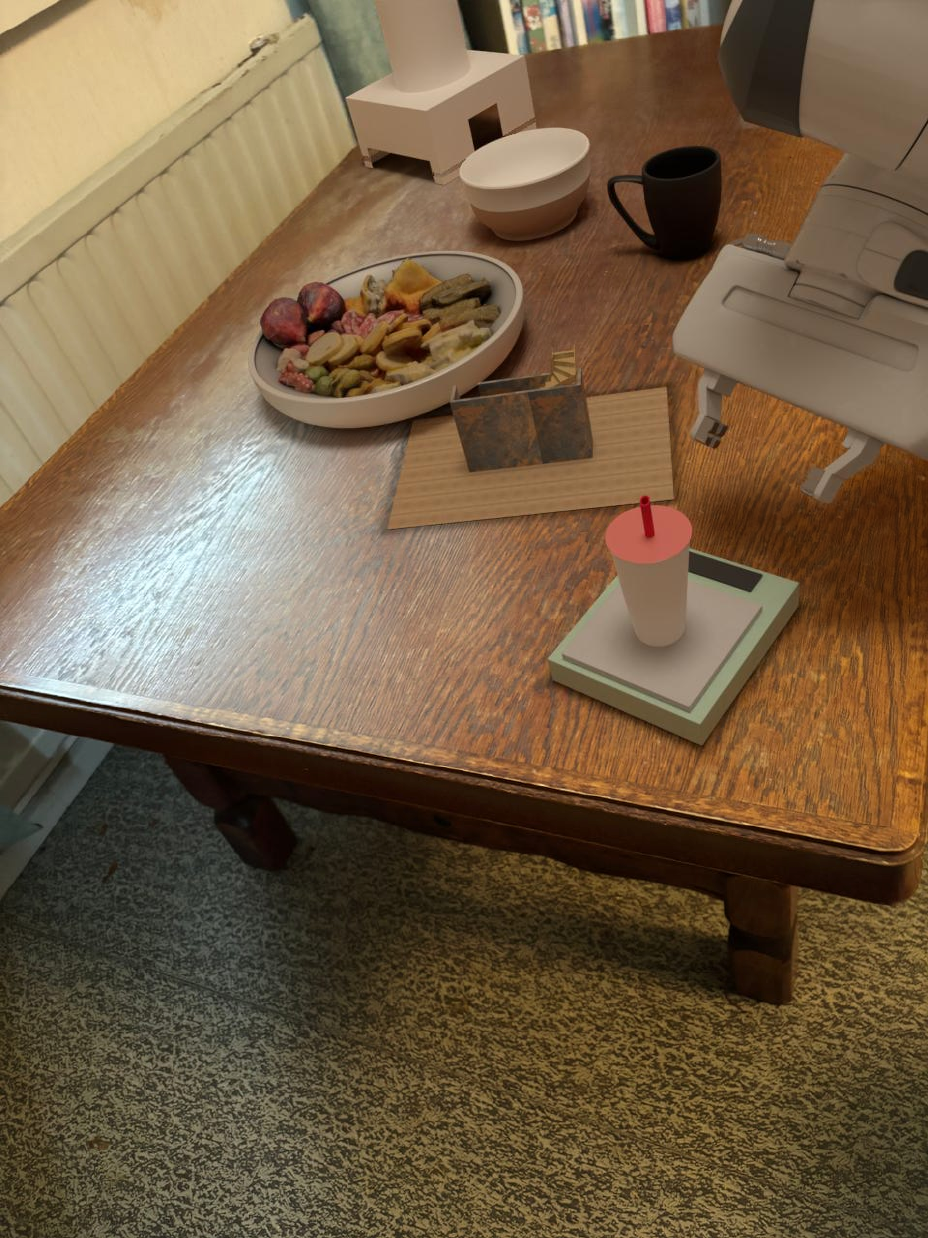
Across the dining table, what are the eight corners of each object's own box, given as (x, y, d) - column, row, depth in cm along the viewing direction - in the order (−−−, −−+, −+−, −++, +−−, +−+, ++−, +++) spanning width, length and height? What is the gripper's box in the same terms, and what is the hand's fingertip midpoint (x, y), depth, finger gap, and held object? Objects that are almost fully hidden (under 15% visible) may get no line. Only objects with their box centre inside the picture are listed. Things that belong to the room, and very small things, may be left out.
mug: (622, 236, 113) (612, 154, 107) (727, 226, 109) (724, 140, 103) (610, 271, 108) (599, 187, 102) (720, 263, 104) (716, 175, 97)
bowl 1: (557, 280, 109) (545, 212, 104) (491, 440, 90) (472, 367, 85) (323, 300, 120) (302, 239, 115) (220, 448, 101) (188, 383, 96)
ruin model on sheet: (666, 386, 91) (657, 292, 84) (673, 499, 80) (664, 400, 73) (413, 420, 97) (385, 334, 90) (387, 529, 86) (353, 441, 79)
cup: (675, 668, 64) (660, 534, 56) (606, 642, 67) (582, 511, 59) (713, 615, 66) (705, 479, 58) (645, 591, 69) (627, 459, 61)
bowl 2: (598, 180, 125) (590, 116, 120) (597, 237, 115) (588, 170, 109) (478, 202, 129) (465, 142, 124) (467, 260, 118) (451, 196, 113)
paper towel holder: (365, 166, 148) (298, -64, 127) (454, 115, 154) (404, -112, 133) (443, 185, 136) (383, -65, 115) (536, 128, 142) (495, -118, 121)
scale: (799, 606, 69) (799, 576, 67) (702, 746, 63) (699, 718, 61) (652, 557, 76) (649, 529, 74) (552, 680, 70) (545, 653, 68)
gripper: (708, 209, 64) (618, 405, 68) (1000, 288, 51) (866, 526, 55) (756, 243, 68) (668, 425, 73) (1036, 324, 55) (909, 541, 59)
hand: (755, 469), depth 64 cm, fingers open, 8 cm apart
